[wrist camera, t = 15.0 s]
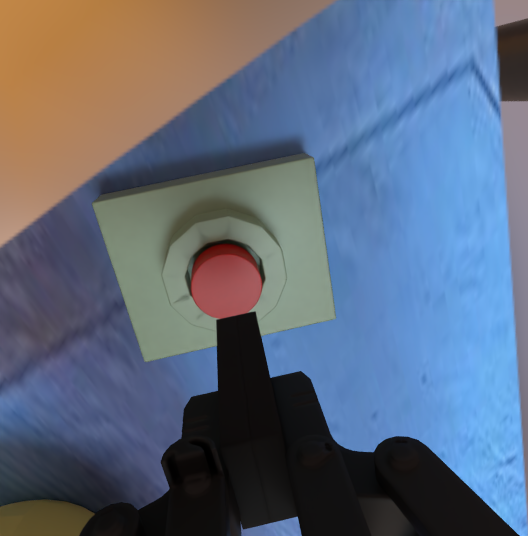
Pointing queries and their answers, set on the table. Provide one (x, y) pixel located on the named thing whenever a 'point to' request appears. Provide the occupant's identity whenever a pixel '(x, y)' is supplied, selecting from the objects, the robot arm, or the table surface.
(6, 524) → the vase
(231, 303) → the power button
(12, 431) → the table surface
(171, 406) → the table surface
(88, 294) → the table surface
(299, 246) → the block
